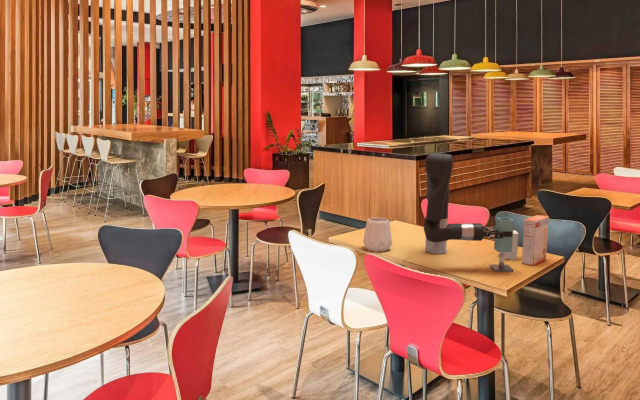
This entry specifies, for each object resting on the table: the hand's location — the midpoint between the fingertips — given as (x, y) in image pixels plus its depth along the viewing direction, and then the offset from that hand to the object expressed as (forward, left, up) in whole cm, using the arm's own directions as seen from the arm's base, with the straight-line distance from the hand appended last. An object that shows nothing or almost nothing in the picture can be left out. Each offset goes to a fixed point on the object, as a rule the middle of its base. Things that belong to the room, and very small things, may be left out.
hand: (509, 232), depth 230 cm
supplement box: (-7, +19, -17) cm, 26 cm away
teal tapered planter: (-2, -2, -8) cm, 8 cm away
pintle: (-2, -1, -17) cm, 17 cm away
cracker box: (+4, +20, -17) cm, 27 cm away
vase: (-62, -11, -17) cm, 65 cm away
